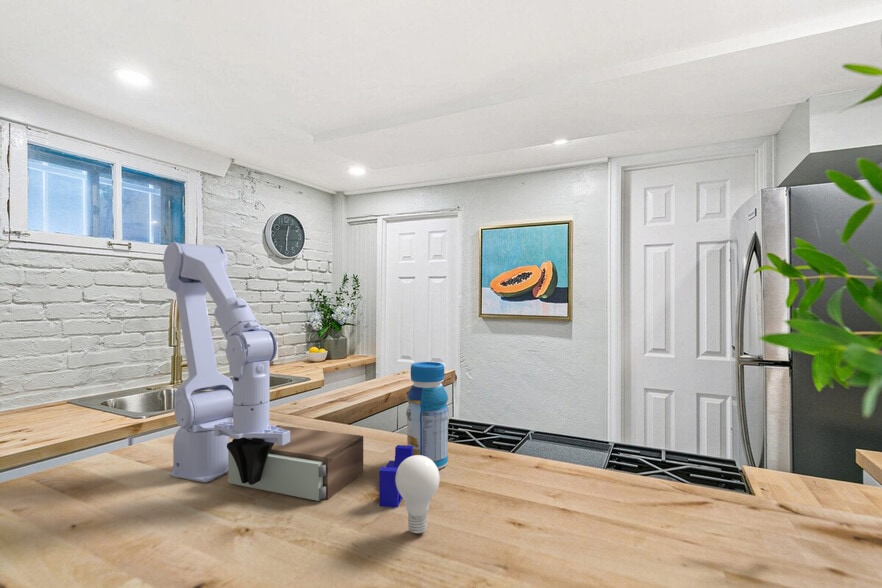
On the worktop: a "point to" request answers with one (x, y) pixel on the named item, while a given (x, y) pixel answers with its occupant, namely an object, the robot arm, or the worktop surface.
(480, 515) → the worktop surface
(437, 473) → the lightbulb
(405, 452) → the cable clip
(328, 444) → the cabinet
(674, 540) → the worktop surface
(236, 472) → the cabinet door
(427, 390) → the beverage bottle
